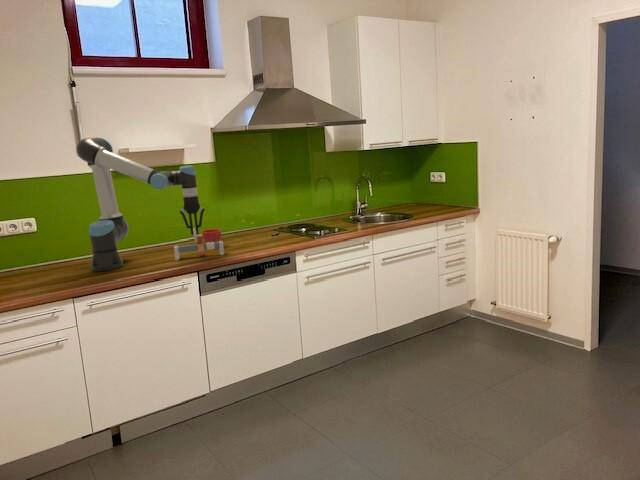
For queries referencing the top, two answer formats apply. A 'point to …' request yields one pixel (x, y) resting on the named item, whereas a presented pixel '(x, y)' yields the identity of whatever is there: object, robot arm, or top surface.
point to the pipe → (195, 248)
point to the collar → (200, 244)
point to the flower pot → (211, 235)
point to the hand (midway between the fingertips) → (195, 240)
